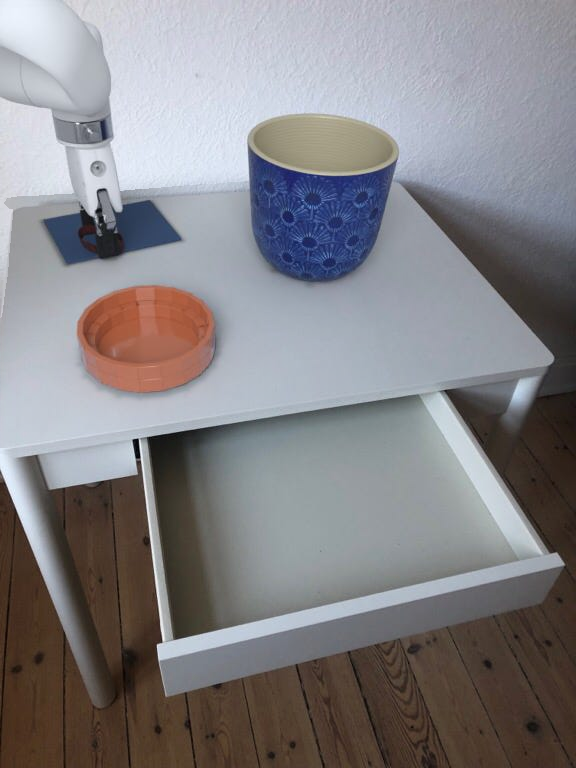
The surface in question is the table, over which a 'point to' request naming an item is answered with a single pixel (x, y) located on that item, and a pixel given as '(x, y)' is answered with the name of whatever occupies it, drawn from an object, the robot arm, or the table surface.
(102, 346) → the bowl
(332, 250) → the planter
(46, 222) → the mat
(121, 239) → the watch
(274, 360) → the table surface
